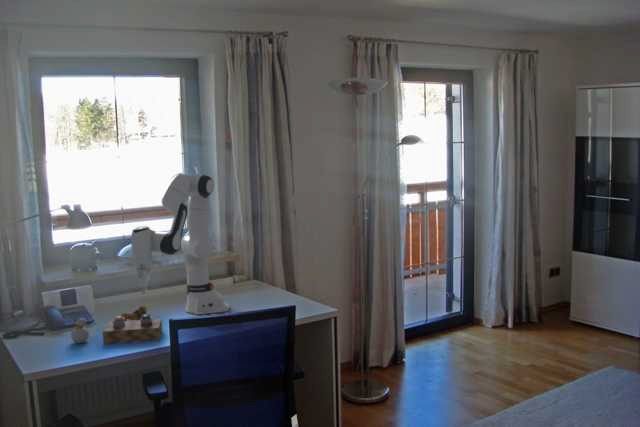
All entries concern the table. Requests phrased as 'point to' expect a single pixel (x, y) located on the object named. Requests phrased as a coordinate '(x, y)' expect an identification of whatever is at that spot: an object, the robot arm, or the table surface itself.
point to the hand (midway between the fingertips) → (144, 293)
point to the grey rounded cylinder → (118, 322)
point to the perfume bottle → (80, 331)
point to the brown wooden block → (132, 332)
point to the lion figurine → (135, 314)
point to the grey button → (146, 320)
